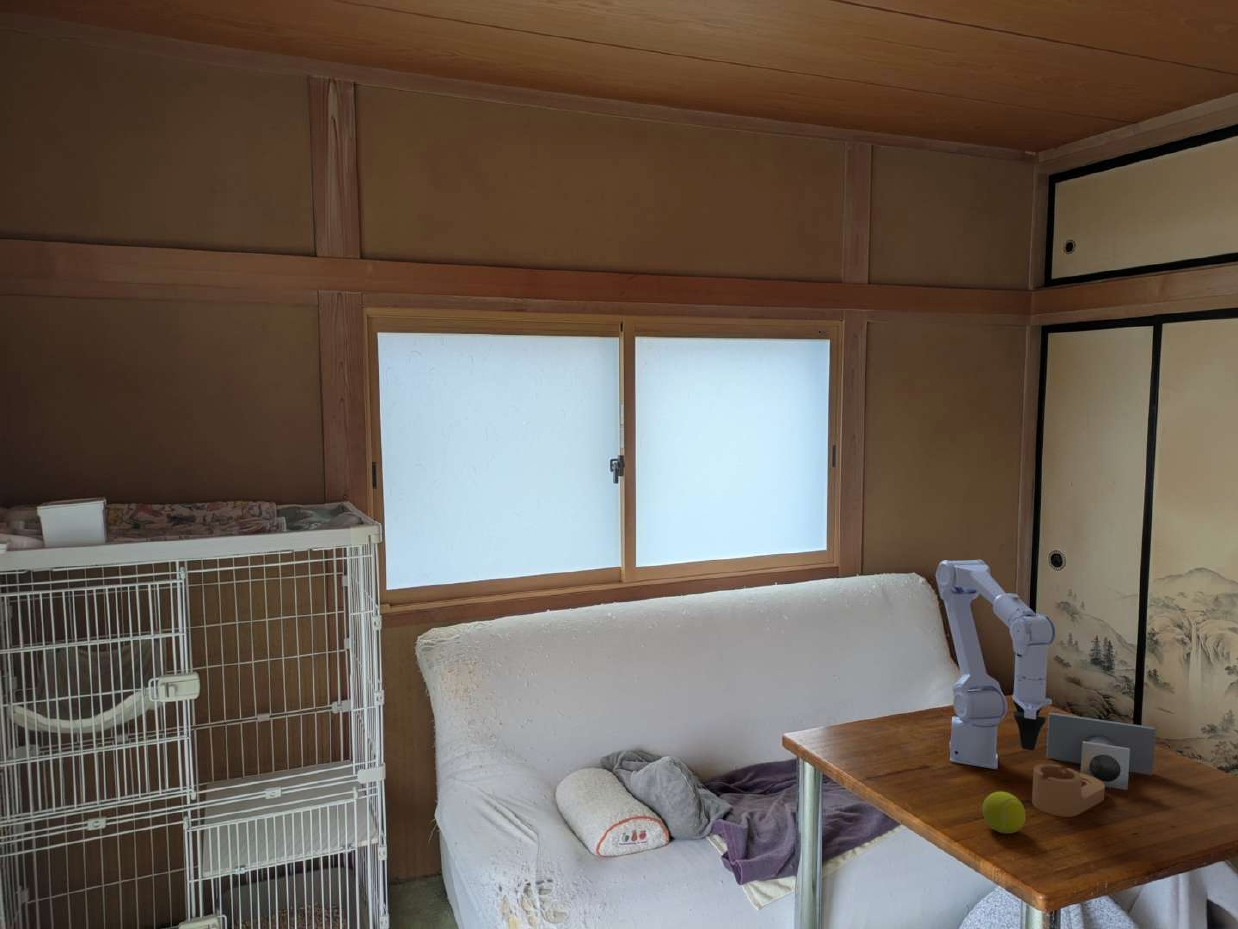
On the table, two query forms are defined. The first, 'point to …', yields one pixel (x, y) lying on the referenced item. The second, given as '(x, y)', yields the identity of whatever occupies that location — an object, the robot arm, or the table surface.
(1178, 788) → the table surface
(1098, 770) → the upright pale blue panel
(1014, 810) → the tennis ball
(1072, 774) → the bracket
